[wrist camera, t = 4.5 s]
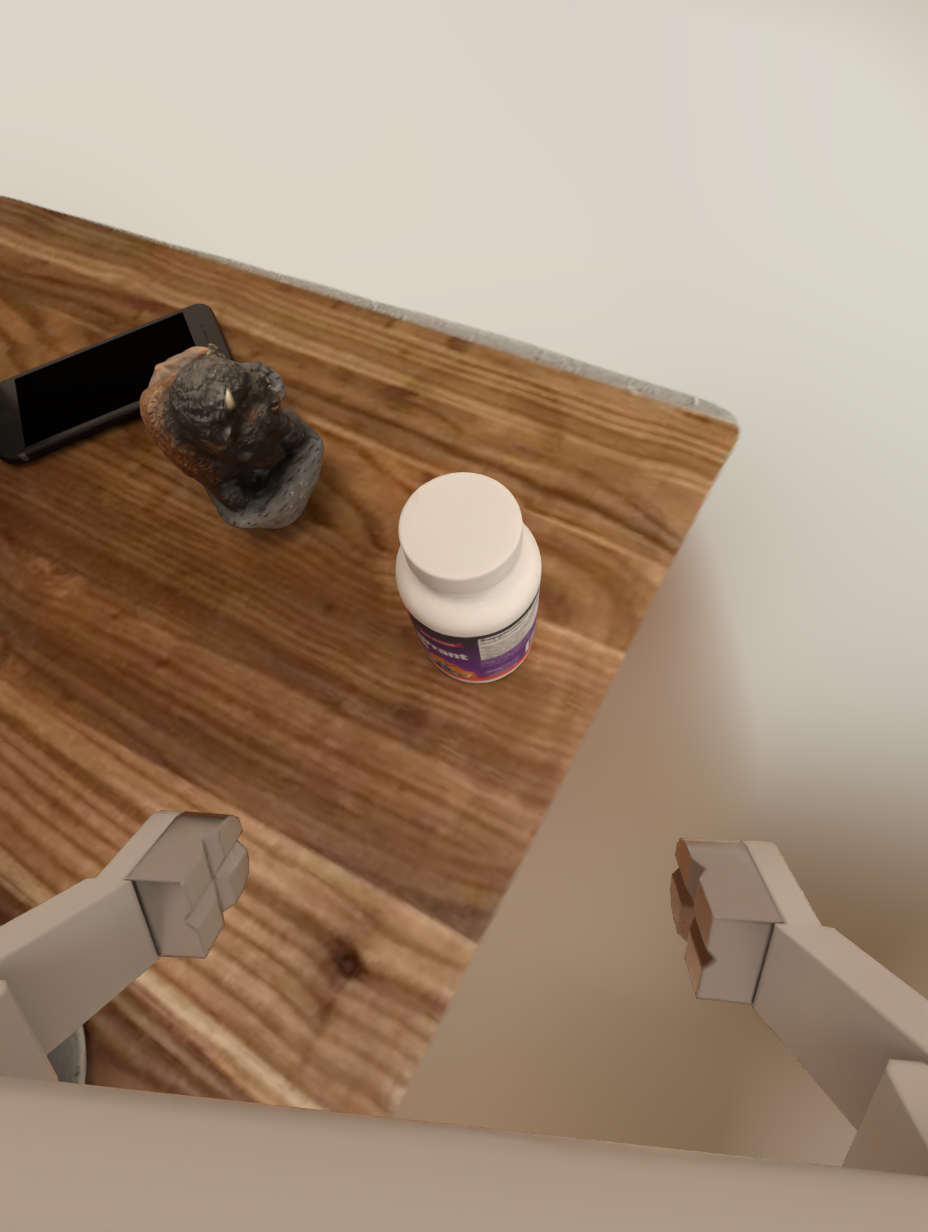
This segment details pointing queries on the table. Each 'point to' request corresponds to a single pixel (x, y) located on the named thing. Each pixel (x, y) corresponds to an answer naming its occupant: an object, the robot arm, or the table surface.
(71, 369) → the smartphone
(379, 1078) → the table surface
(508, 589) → the pill bottle
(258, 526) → the bison figurine
